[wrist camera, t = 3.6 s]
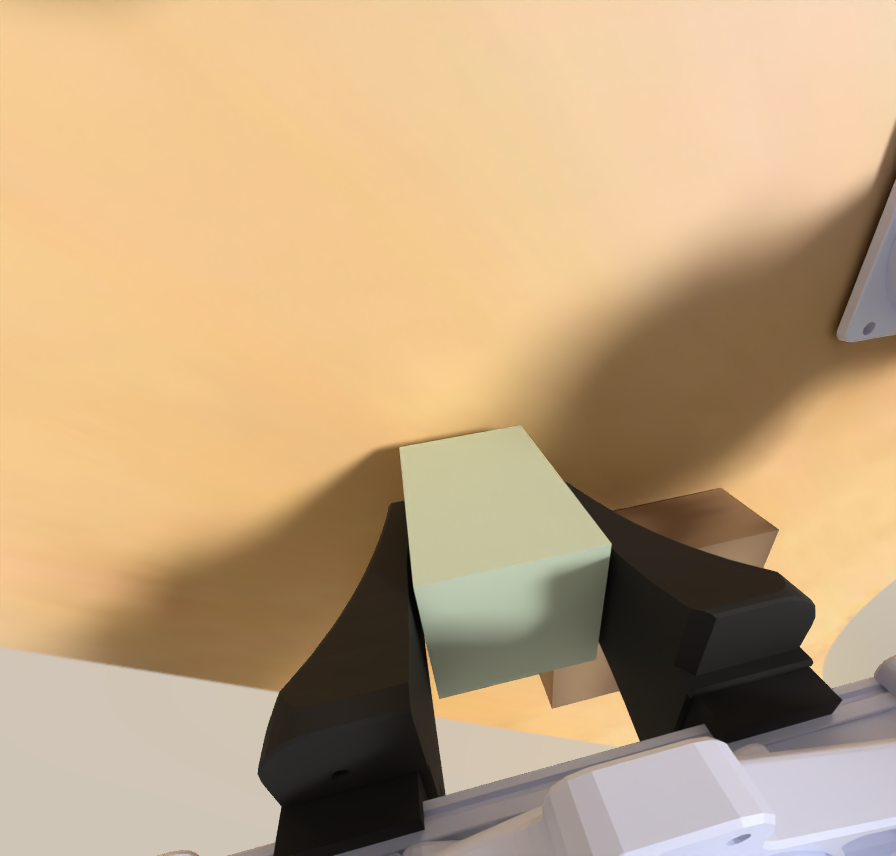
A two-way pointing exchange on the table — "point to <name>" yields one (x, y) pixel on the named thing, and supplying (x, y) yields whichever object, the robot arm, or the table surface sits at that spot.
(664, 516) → the walnut base
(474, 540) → the sage block
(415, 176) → the table surface
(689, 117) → the table surface
